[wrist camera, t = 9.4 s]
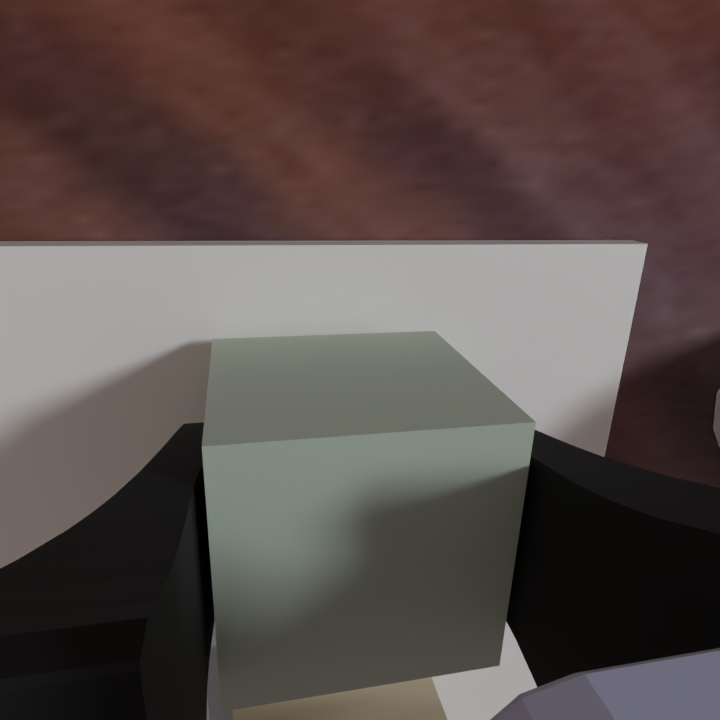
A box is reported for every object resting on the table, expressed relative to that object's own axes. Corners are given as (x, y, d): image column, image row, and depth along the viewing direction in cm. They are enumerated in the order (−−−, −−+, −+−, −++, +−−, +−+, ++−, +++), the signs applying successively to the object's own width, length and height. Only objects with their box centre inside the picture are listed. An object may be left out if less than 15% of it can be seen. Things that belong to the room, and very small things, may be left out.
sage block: (420, 513, 14) (499, 665, 10) (225, 533, 13) (222, 711, 9) (435, 330, 12) (536, 422, 8) (212, 338, 11) (201, 446, 7)
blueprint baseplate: (509, 870, 22) (518, 891, 21) (91, 974, 19) (86, 1002, 18) (630, 240, 14) (649, 244, 13) (-83, 241, 11) (-102, 247, 10)
